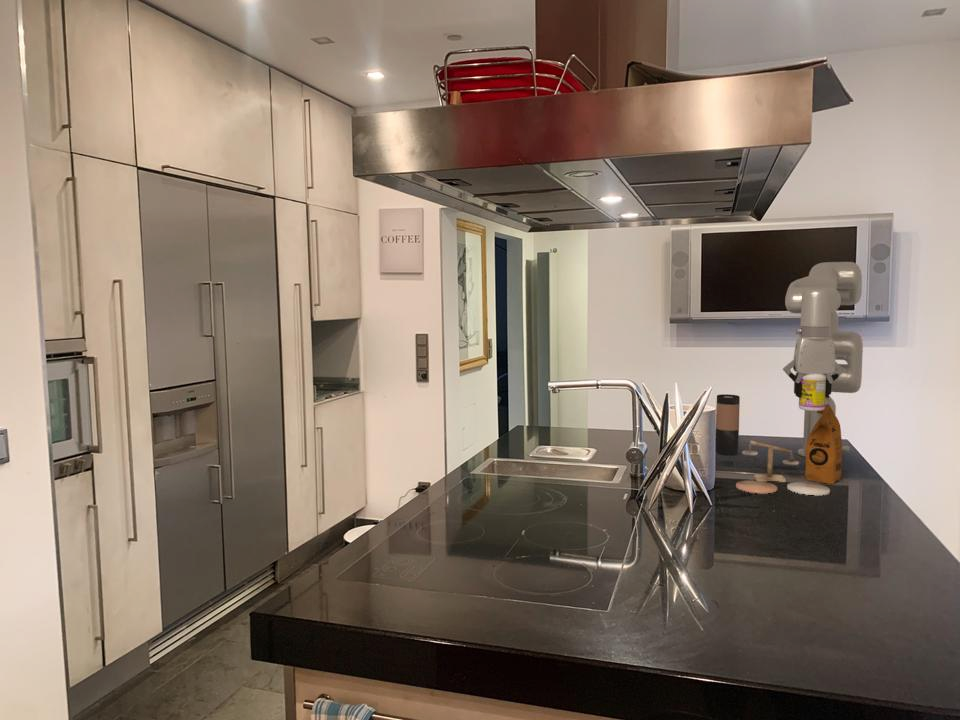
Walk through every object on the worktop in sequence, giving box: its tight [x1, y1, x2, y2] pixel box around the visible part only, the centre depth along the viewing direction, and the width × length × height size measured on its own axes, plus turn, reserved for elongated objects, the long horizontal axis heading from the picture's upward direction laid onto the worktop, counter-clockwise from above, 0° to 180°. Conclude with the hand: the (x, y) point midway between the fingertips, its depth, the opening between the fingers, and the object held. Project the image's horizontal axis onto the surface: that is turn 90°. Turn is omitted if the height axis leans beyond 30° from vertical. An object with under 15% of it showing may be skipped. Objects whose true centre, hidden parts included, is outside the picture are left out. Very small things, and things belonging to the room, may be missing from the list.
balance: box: [741, 440, 800, 483], centre depth 211 cm, size 16×4×12 cm, turn 82°
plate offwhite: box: [786, 481, 831, 497], centre depth 201 cm, size 11×11×1 cm
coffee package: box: [804, 404, 843, 485], centre depth 212 cm, size 10×12×22 cm
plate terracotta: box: [735, 480, 778, 495], centre depth 203 cm, size 11×11×1 cm
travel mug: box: [715, 394, 741, 456], centre depth 245 cm, size 8×8×20 cm
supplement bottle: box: [798, 374, 826, 411], centre depth 198 cm, size 7×7×13 cm
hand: (812, 396), depth 198 cm, fingers closed on supplement bottle, 6 cm apart
